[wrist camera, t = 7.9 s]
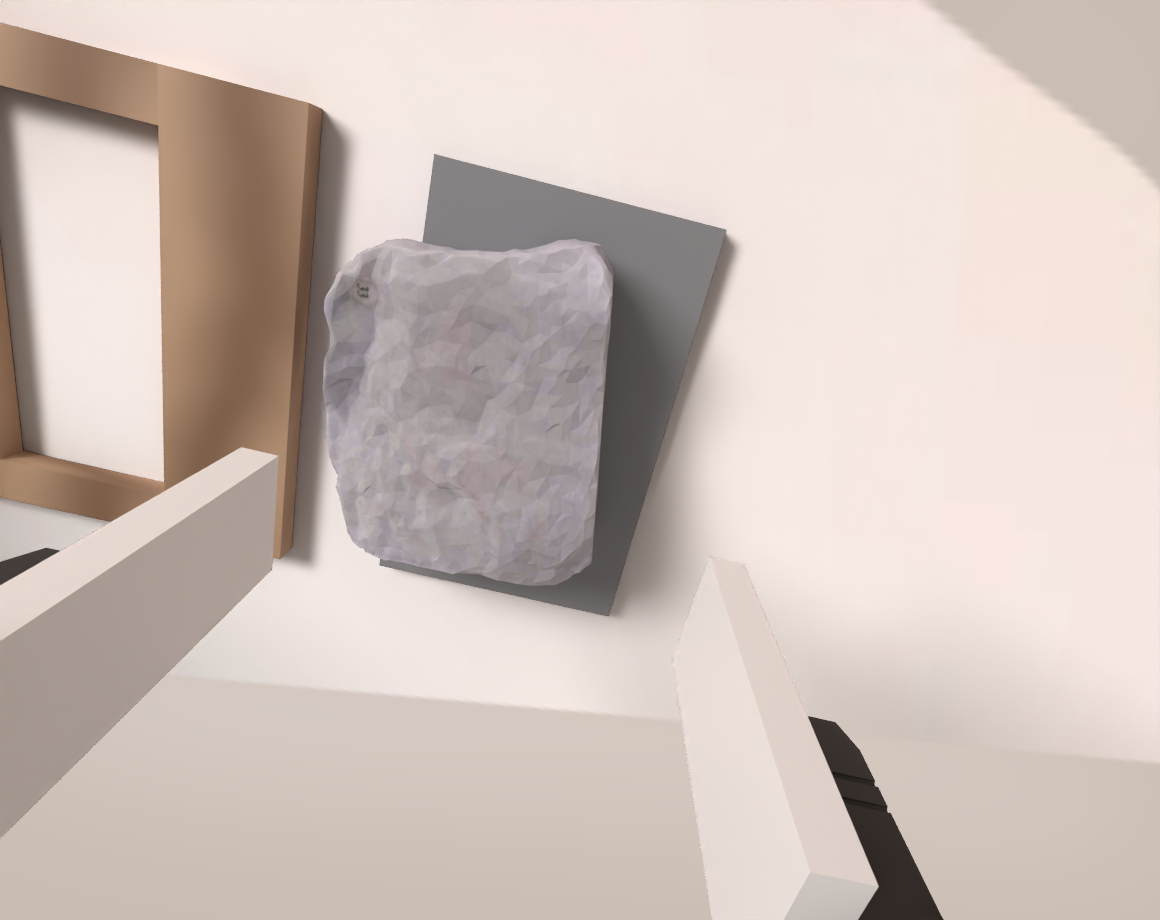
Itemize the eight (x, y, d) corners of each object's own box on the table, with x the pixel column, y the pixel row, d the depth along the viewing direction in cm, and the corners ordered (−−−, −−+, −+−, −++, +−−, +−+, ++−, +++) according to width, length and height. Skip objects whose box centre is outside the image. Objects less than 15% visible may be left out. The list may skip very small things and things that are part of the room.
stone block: (389, 518, 26) (611, 552, 24) (320, 570, 22) (585, 617, 20) (372, 230, 22) (634, 242, 20) (284, 222, 18) (608, 235, 16)
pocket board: (-89, 462, 25) (-116, 471, 24) (-177, -21, 19) (-218, -35, 18) (291, 547, 26) (280, 559, 25) (322, 109, 20) (308, 102, 19)
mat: (384, 558, 26) (379, 565, 25) (438, 156, 20) (434, 153, 19) (608, 608, 26) (608, 616, 26) (722, 230, 21) (726, 229, 20)
